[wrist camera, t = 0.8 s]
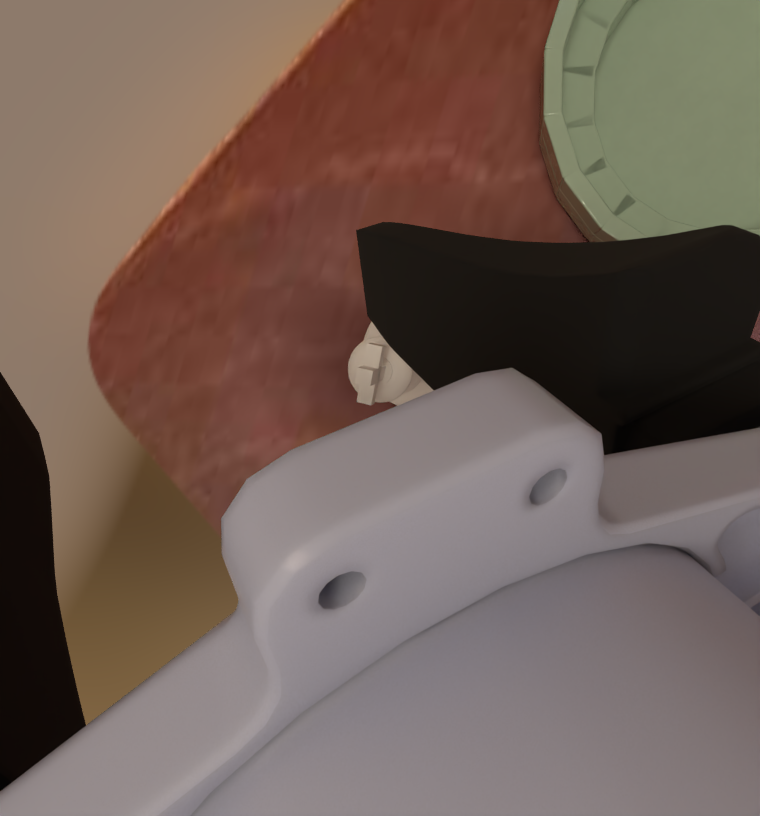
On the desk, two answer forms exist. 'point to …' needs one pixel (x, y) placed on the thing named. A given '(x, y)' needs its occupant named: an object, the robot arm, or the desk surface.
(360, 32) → the desk surface
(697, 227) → the bowl
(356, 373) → the chess piece
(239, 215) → the desk surface
